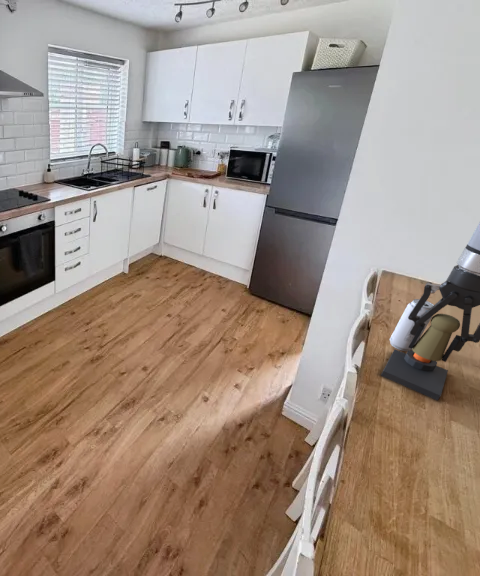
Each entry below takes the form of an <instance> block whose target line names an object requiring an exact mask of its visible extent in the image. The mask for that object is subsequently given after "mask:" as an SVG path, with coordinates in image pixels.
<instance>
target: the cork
mask: <svg viewBox="0 0 480 576" xmlns="http://www.w3.org/2000/svg"><path fill="white" fill-rule="evenodd" d="M460 327H461V322H460V320H459V319H458V318H457V317H455V316H453V315H450V314H447V313H436V314H434V315H433V316H432V318H431V320H430V325H429V327H427V329H425V331H424V332H423V334H422V335H421V337H420V339H419V340H418V341H417V342H416V343H415V345H414V346H413V348H412V350H413V351H414V352H415V353H416V354H417V355H419V356H421V357H423V358H425V359H428V360H432V361H436V362H440V361H442V357H443V355H444V353H445V352H446V350H447V348H448V344H449V342H450V339H451V337H452V335H453V333H455V332H457V331H458V330H459V329H460Z"/></svg>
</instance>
